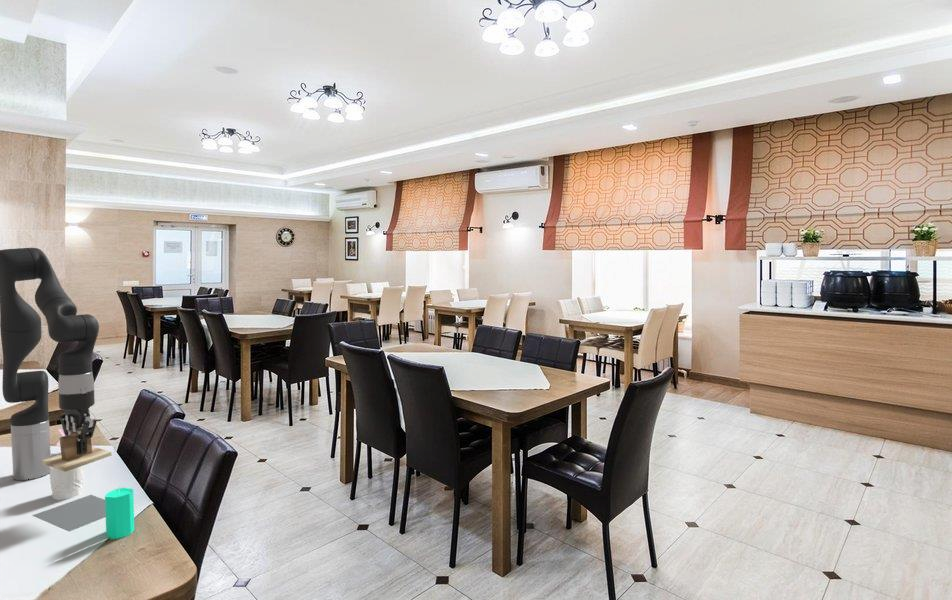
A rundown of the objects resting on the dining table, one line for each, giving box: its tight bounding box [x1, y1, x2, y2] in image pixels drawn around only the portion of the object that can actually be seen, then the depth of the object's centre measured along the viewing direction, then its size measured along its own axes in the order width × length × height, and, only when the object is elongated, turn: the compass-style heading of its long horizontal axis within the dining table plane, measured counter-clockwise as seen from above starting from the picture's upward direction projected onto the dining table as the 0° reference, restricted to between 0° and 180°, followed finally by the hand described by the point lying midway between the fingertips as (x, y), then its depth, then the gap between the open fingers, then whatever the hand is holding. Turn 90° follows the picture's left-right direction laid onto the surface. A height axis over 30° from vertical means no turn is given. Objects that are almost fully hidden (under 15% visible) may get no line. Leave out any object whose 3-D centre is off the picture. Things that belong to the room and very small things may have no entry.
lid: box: [42, 432, 113, 472], centre depth 138 cm, size 11×11×7 cm
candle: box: [104, 487, 135, 540], centre depth 130 cm, size 6×6×12 cm
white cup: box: [49, 465, 85, 501], centre depth 150 cm, size 8×8×10 cm
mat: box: [32, 494, 106, 532], centre depth 140 cm, size 18×14×1 cm
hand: (79, 452), depth 139 cm, fingers closed on lid, 2 cm apart
